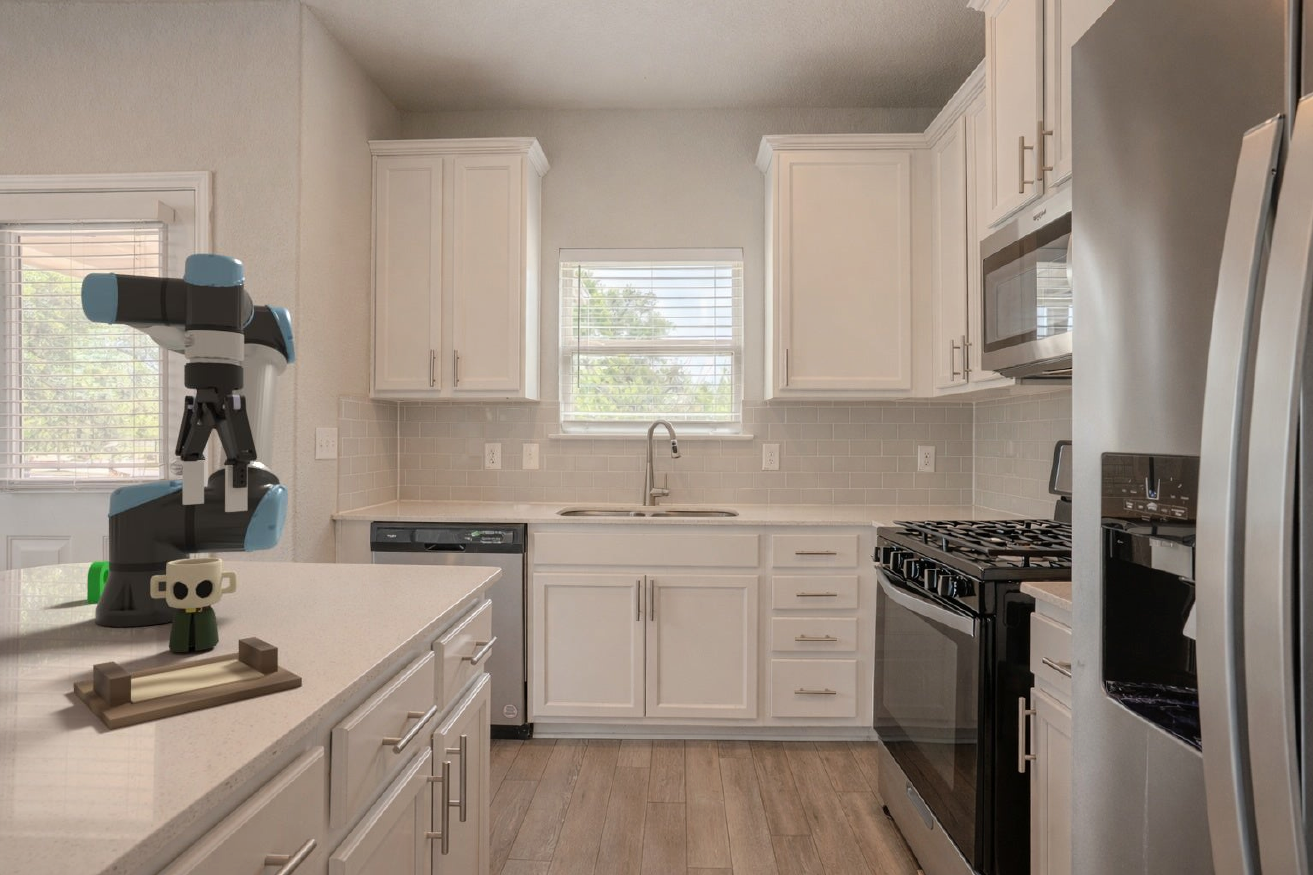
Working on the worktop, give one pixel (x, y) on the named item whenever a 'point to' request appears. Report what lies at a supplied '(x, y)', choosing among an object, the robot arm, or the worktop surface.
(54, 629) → the worktop surface
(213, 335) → the robot arm
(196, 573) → the character mug
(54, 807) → the worktop surface
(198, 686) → the seating jig
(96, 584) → the mechanical part
